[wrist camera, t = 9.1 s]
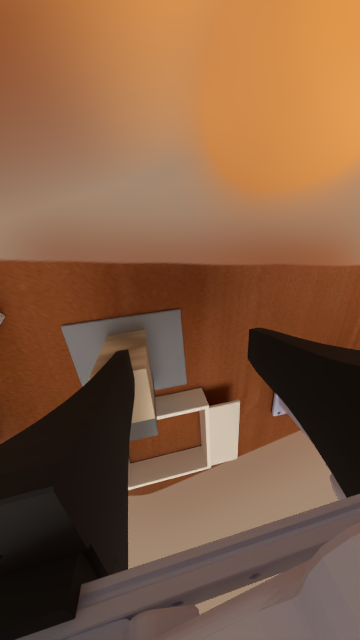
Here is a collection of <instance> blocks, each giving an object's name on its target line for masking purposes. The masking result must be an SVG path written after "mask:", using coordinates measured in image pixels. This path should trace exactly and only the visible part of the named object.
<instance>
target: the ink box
mask: <svg viewBox="0 0 360 640" xmlns="http://www.w3.org/2000/svg"><path fill="white" fill-rule="evenodd" d="M4 318H5V315H4V314H2V313H0V325H1V323H2V322H3V320H4Z"/></svg>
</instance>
